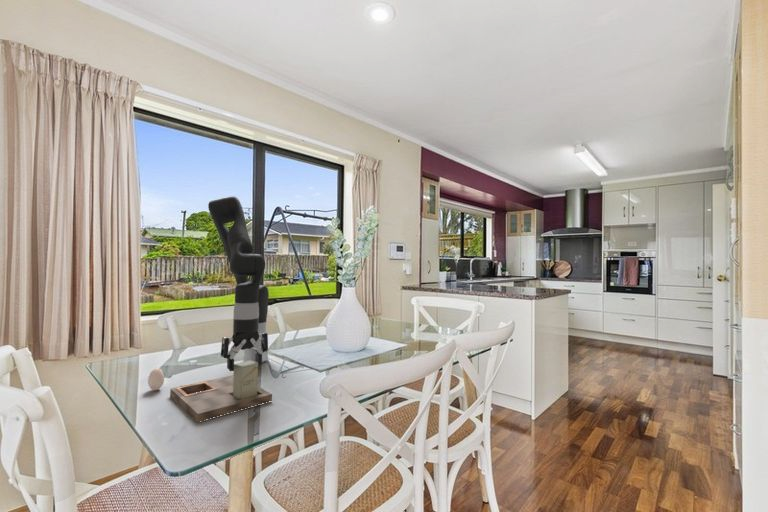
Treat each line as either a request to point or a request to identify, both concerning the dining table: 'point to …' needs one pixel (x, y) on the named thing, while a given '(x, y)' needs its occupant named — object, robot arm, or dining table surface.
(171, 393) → the socket board
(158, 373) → the egg
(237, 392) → the skincare box
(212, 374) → the dining table surface
